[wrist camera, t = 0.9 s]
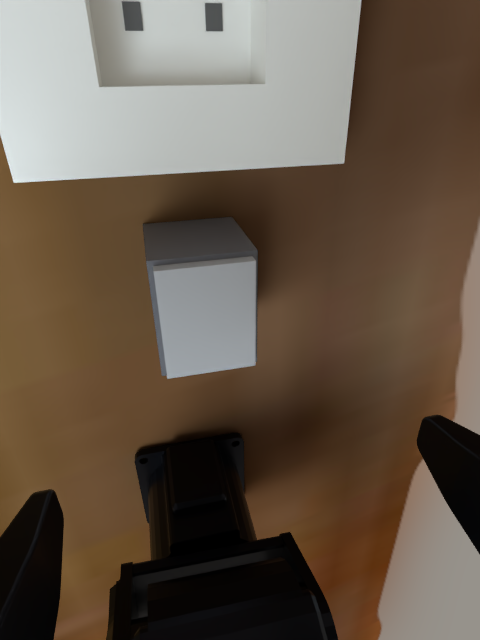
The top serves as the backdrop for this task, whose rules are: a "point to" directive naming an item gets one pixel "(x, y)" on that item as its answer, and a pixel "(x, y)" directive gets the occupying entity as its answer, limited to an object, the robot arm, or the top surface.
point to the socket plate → (173, 85)
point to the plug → (202, 295)
